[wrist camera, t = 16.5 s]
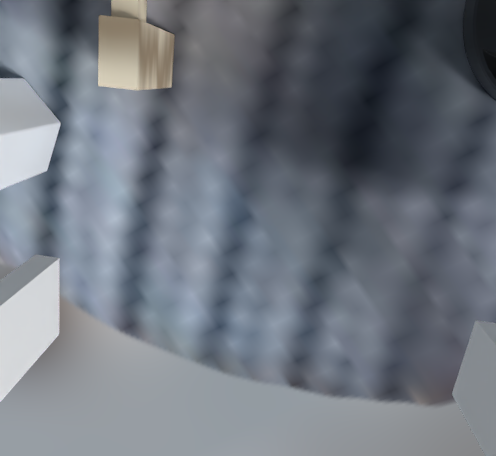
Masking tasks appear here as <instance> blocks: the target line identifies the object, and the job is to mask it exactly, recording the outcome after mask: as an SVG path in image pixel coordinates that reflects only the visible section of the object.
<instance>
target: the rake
mask: <svg viewBox="0 0 496 456" xmlns="http://www.w3.org/2000/svg"><path fill="white" fill-rule="evenodd" d="M146 12H147V0H112V1H111V16H103V15H99V60H98V86H103V87H112V88H121V89H129V90H147V89H159V88H171V87H172V72H173V54H174V34H171V33H169V32H167V31H164V30H162V29H160V28H158V27H155V26H153V25H151V24H148V23H146Z"/></svg>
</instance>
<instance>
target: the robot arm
mask: <svg viewBox="0 0 496 456" xmlns="http://www.w3.org/2000/svg"><path fill="white" fill-rule="evenodd" d="M463 36H464V45H465V50H466V54H467V58H468V61H469V64H470V66H471V69H472V71H473V73H474V75H475V76H476V78H477V80H478V81H479V83H480V84H481V85H482V87H483V88H484V89H485V90H486V91H487V92H488V93H489V94H490V95H491V96H492V97H493V98H494V99H496V0H467V1H466V6H465V11H464V21H463ZM58 335H59V258H54V257H48V256H41V255H34V256H33V257H32V258H30V259H29V260H27V261H26V262H25V263H23V264H22V265H20V266H19V267H18V268H16V269H15V270H14V271H12V272H11V273H9V274H8V275H7V276H5V277H4V278H2V279H1V280H0V402H1V400H3V398H4V397H5V396H6V395H7V394H8V393H9V391H10V390H11V389H12V388H13V387H14V386H15V384H16V383H17V382H18V381H19V380H20V378H22V376H23V375H24V374H25V373H26V372H27V371H28V369H29V368H30V367H31V366H32V365H33V364H34V363H35V361H36V360H37V359H38V358H39V357H40V356H41V355H42V353H43V352H44V351H45V350H46V349H47V347H48V346H49V345H50V344H51V343H52V342H53V341H54V339H55V338H56V337H57V336H58ZM452 395H453V397H454V399H455V401H456V403H457V404H458V406H459V408H460V410H461V412H462V414H463V416H464V417H465V419H466V421H467V423H468V425H469V427H470V429H471V430H472V432H473V434H474V436H475V438H476V440H477V441H478V443H479V445H480V447H481V449H482V451H483V453H484V454H485V456H496V323H491V322H484V321H477V320H476V321H475V324H474V327H473V331H472V334H471V337H470V340H469V343H468V346H467V349H466V352H465V355H464V358H463V361H462V365H461V368H460V371H459V374H458V377H457V380H456V383H455V386H454V389H453V392H452Z"/></svg>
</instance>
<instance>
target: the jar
mask: <svg viewBox="0 0 496 456" xmlns="http://www.w3.org/2000/svg"><path fill="white" fill-rule="evenodd" d="M60 125H61V123H60V121H59V120H58V119H57V118H56V116H55V115H54V114H53V113H52V112H51V110H50V109H49V108H48V107H47V106H46V104H45V103H44V102H43V101H42V100H41V98H40V97H39V96H38V95H37V93H36V92H35V91H34V90H33V89H32V87H31V86H30V85H29V84H28V83H27V81H26V80H25V79H23V78H0V190H2V189H4V188H7V187H9V186H12V185H14V184H17V183H19V182H21V181H24V180H26V179H29V178H31V177H34V176H36V175H39V174H41V173H43V172H46V171H47V169H48V166H49V162H50V159H51V156H52V152H53V149H54V145H55V142H56V139H57V135H58V132H59V128H60Z"/></svg>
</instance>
